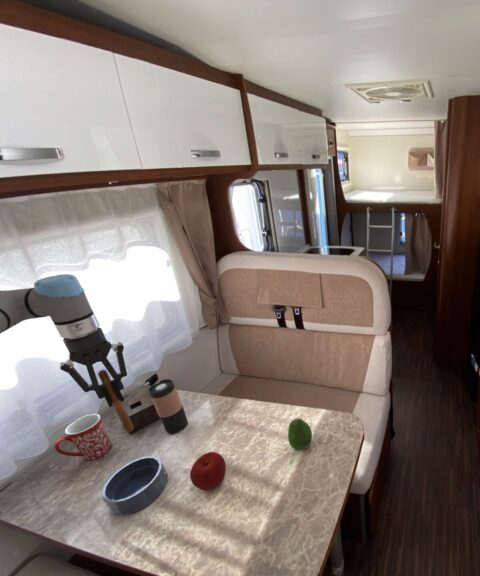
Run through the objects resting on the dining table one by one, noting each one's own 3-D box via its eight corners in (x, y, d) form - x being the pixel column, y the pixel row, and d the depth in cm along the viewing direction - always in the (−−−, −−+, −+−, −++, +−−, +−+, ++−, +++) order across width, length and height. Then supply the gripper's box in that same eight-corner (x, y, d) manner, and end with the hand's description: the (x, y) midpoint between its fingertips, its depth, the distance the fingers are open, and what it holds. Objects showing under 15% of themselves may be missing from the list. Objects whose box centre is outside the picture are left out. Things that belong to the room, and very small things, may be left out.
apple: (194, 503, 90) (184, 481, 86) (197, 476, 98) (188, 454, 94) (229, 489, 93) (221, 467, 89) (229, 463, 101) (222, 442, 97)
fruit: (316, 450, 105) (311, 424, 100) (293, 460, 102) (287, 434, 97) (310, 433, 111) (306, 408, 107) (289, 442, 108) (283, 417, 104)
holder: (130, 435, 114) (122, 419, 111) (124, 421, 121) (116, 406, 118) (161, 418, 121) (155, 403, 118) (154, 406, 128) (148, 391, 125)
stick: (127, 434, 91) (96, 373, 84) (126, 431, 92) (95, 370, 85) (135, 430, 92) (105, 369, 85) (134, 427, 94) (105, 367, 86)
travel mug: (183, 432, 114) (166, 391, 106) (161, 436, 113) (143, 394, 105) (192, 417, 121) (176, 377, 113) (171, 420, 120) (154, 380, 112)
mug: (112, 436, 114) (97, 409, 109) (117, 449, 109) (102, 421, 103) (66, 460, 105) (48, 432, 100) (69, 476, 100) (50, 447, 95)
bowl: (115, 528, 84) (106, 514, 82) (106, 494, 93) (97, 480, 91) (174, 488, 94) (168, 474, 92) (161, 461, 103) (154, 447, 101)
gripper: (41, 350, 72) (83, 424, 81) (120, 325, 82) (150, 393, 91) (40, 340, 76) (80, 410, 85) (115, 317, 86) (144, 382, 95)
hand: (116, 401), depth 88 cm, fingers closed on stick, 2 cm apart
